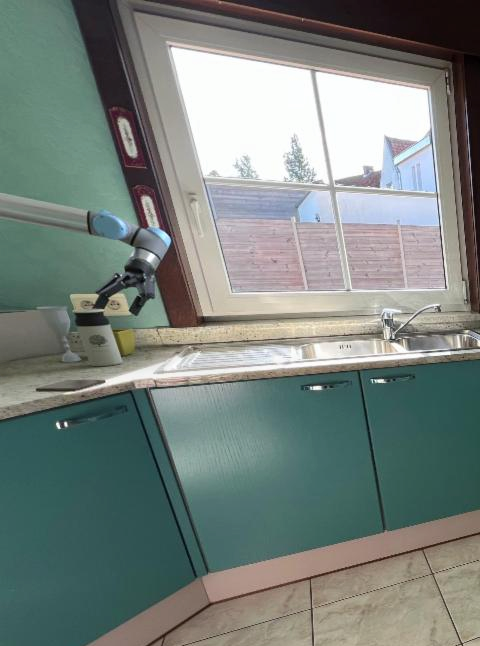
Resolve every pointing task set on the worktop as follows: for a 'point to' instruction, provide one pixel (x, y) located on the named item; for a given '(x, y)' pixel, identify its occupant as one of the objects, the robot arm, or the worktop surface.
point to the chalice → (59, 327)
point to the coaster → (70, 385)
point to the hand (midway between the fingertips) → (114, 312)
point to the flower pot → (124, 340)
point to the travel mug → (97, 337)
